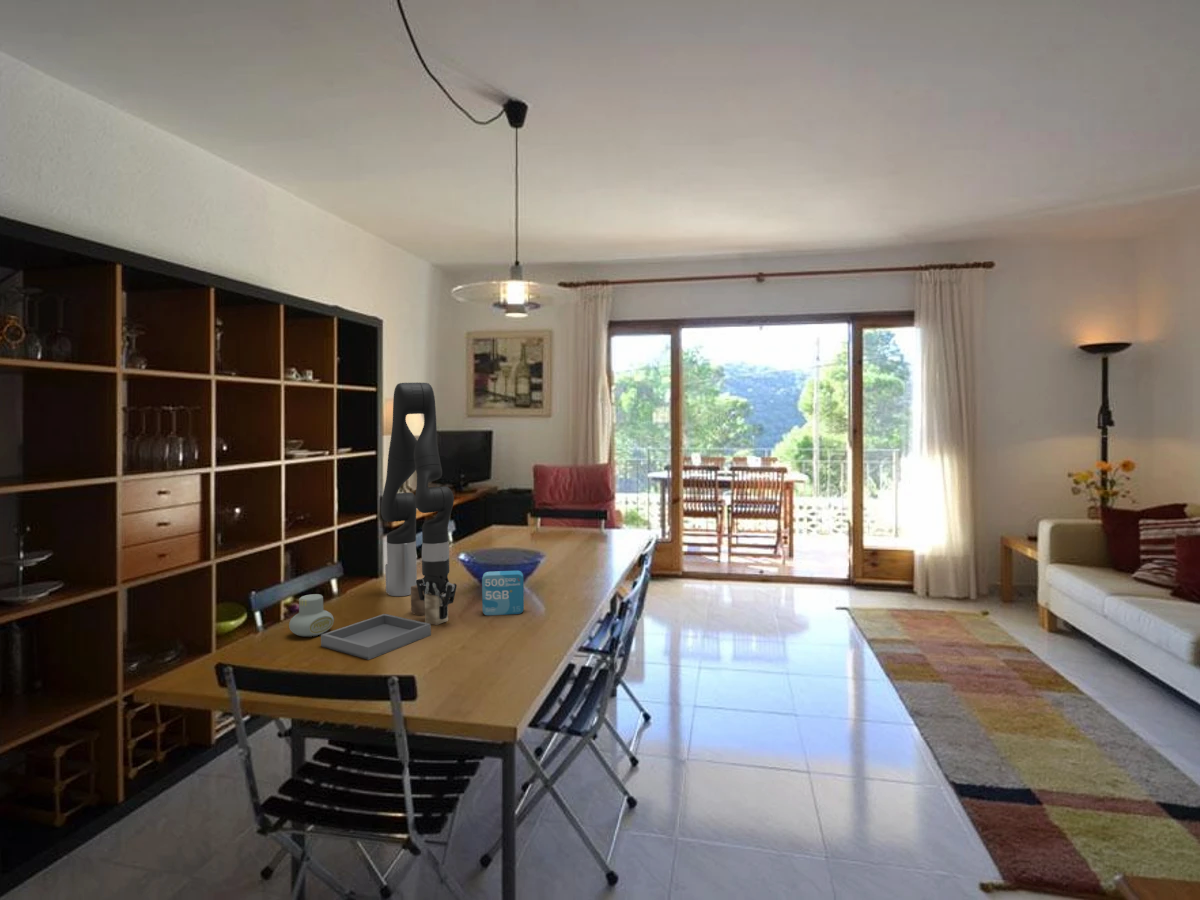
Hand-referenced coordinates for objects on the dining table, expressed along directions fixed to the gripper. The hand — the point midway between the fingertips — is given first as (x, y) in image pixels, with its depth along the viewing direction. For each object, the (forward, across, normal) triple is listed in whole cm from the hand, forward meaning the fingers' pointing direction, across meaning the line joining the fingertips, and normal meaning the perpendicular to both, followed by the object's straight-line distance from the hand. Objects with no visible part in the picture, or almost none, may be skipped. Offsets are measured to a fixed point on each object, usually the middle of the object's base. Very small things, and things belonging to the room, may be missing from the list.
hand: (436, 616), depth 178 cm
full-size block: (+1, -10, +4) cm, 11 cm away
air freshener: (+2, -22, -24) cm, 33 cm away
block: (+1, 0, 0) cm, 1 cm away
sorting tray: (+1, -2, -19) cm, 19 cm away
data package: (+2, +11, +16) cm, 19 cm away
